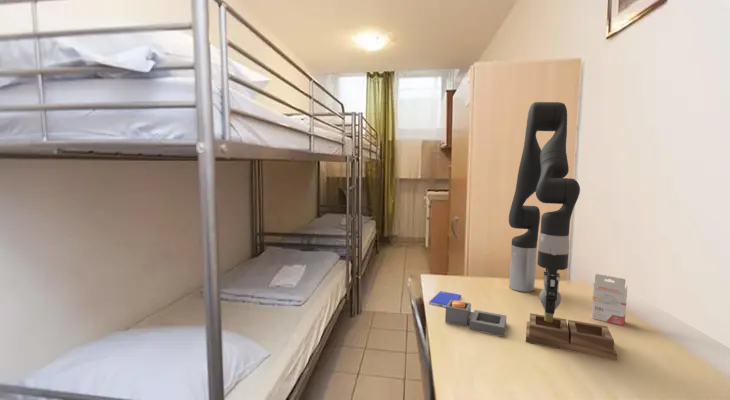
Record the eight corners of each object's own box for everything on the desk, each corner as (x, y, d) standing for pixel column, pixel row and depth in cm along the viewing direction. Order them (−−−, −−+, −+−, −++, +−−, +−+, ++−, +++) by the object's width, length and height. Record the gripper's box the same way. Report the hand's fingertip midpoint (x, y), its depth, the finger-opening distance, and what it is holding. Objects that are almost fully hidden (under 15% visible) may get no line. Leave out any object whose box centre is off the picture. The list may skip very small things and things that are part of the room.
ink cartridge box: (625, 321, 115) (629, 276, 113) (622, 326, 111) (626, 279, 110) (593, 313, 121) (597, 270, 119) (590, 318, 117) (594, 273, 116)
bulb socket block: (450, 313, 119) (451, 298, 118) (506, 323, 112) (506, 307, 111) (444, 324, 110) (444, 308, 110) (503, 336, 103) (504, 319, 103)
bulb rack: (526, 326, 110) (527, 311, 110) (608, 341, 101) (610, 325, 101) (525, 341, 100) (526, 326, 100) (616, 360, 91) (618, 342, 91)
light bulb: (562, 327, 99) (564, 292, 98) (540, 325, 100) (542, 290, 99) (555, 319, 104) (558, 285, 104) (535, 317, 106) (537, 284, 105)
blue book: (439, 290, 137) (429, 301, 127) (461, 294, 133) (452, 305, 123) (439, 294, 137) (428, 305, 127) (461, 298, 133) (452, 310, 123)
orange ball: (453, 310, 116) (453, 299, 115) (465, 312, 114) (466, 301, 114) (450, 314, 112) (450, 303, 112) (463, 317, 110) (464, 306, 110)
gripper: (538, 243, 108) (534, 298, 110) (538, 253, 95) (534, 316, 97) (566, 246, 105) (562, 303, 107) (571, 257, 92) (566, 321, 94)
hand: (549, 308), depth 102 cm, fingers closed on light bulb, 5 cm apart
